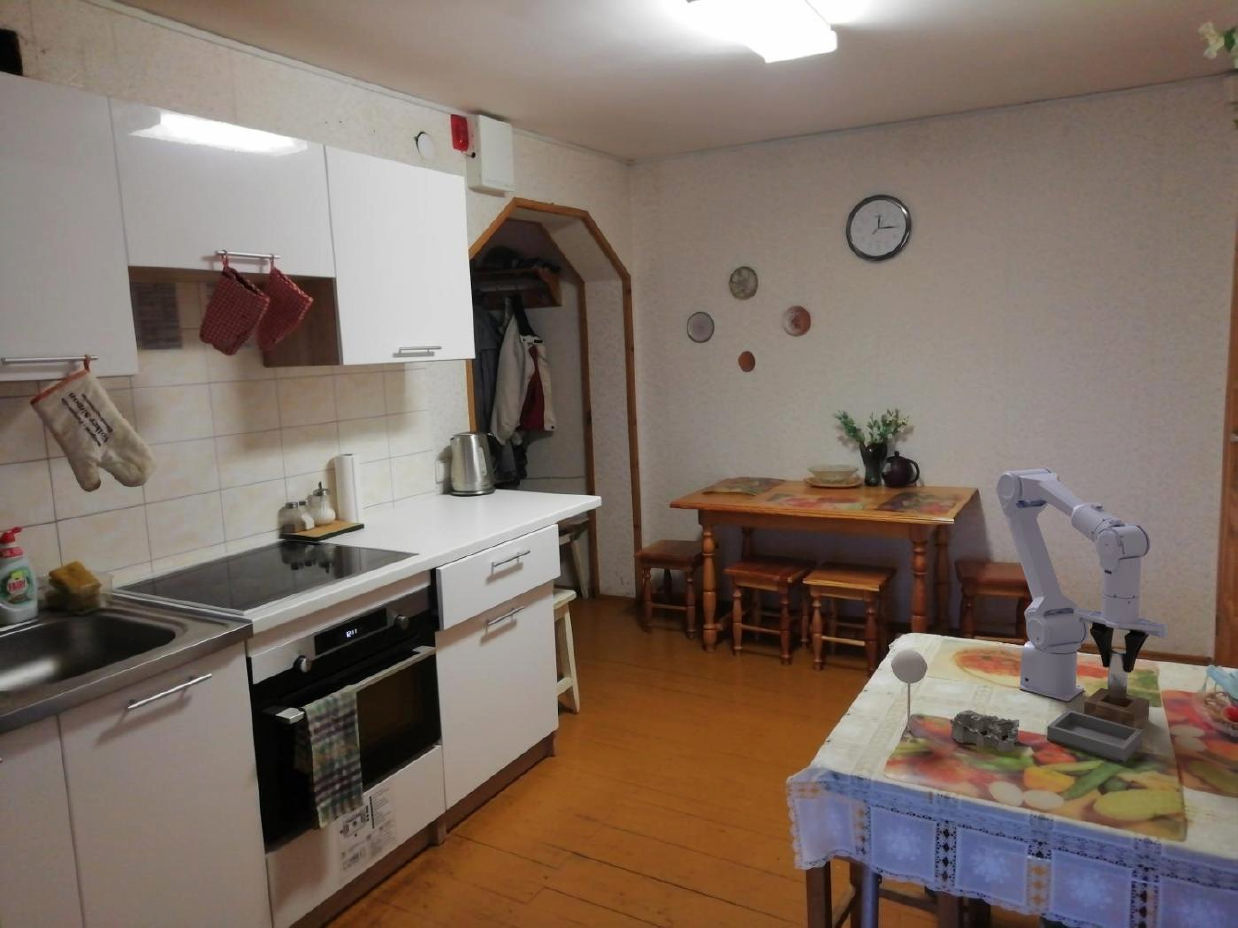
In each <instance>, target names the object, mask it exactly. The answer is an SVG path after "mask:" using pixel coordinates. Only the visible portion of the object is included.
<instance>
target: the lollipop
mask: <svg viewBox="0 0 1238 928" xmlns="http://www.w3.org/2000/svg"><path fill="white" fill-rule="evenodd" d="M890 667H891V669H892V672H893V675H894V676H895V677H896V679H898V680H899V681H900V682H903V683H905V684H907V715H906V716H907V719H906V720H907V721H906V722H907V725H906V726H907V731H908V732H910V730H911V684H915V683H918V682H920V681H921V680H922V679H924V677H925V676H926V674H927V671H928V669H929V668H928V663H927V662H926V660H925V658H924V656H922V654H920V652H918V651H915V650H913V649H903V650H902V649H901V650H900V651H898V652H897V653H896V654H895V655H894V656H893V658H892V660H891V663H890Z"/></svg>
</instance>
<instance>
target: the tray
mask: <svg viewBox="0 0 1238 928" xmlns="http://www.w3.org/2000/svg"><path fill="white" fill-rule="evenodd" d="M1046 727H1047V728H1046V729H1047V730H1046V739H1047V740H1046V741H1049V742H1052V743H1056V744H1059V745H1063V746H1066V747H1068V748H1071V749H1075V750H1079V751H1082V752H1084V753H1085V752H1086V753H1089V754H1092V755H1095V756H1099V757H1102V758H1105V759H1109V760H1112V761H1114V762H1118V763H1121V764H1124V763H1126V762H1127V761H1128V759H1130V758H1131V757H1132V755H1134V753H1135V752H1136V751H1138V749H1139V748H1140V747H1141V746H1142V745H1143V735H1144V730H1143V729H1137V728H1133V727H1129V726H1126V725H1122V724H1119V723H1115V722H1111V721H1108V720H1104V719H1100V718H1097V717H1093V716H1090V715H1086V714H1084V713H1082V712H1078V711H1074V710H1072V709H1071V710H1070V709H1067V710H1066V711H1064V712H1063V713H1062V714H1061V715H1059V716H1058V717H1057V718H1056V719H1054V720H1053V721H1052V722H1051V723H1049V724H1048V725H1047V726H1046Z"/></svg>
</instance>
